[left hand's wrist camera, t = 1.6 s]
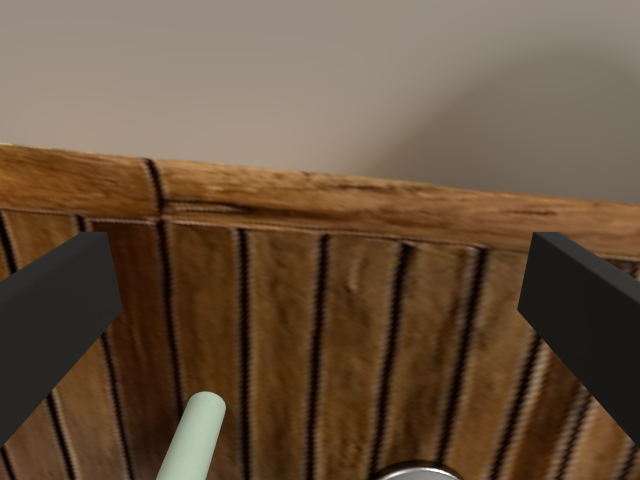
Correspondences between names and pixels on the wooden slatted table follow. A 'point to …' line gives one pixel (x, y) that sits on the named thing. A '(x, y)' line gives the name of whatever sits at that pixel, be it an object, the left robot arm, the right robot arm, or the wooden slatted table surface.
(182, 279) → the wooden slatted table surface
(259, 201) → the wooden slatted table surface
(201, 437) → the bottle
